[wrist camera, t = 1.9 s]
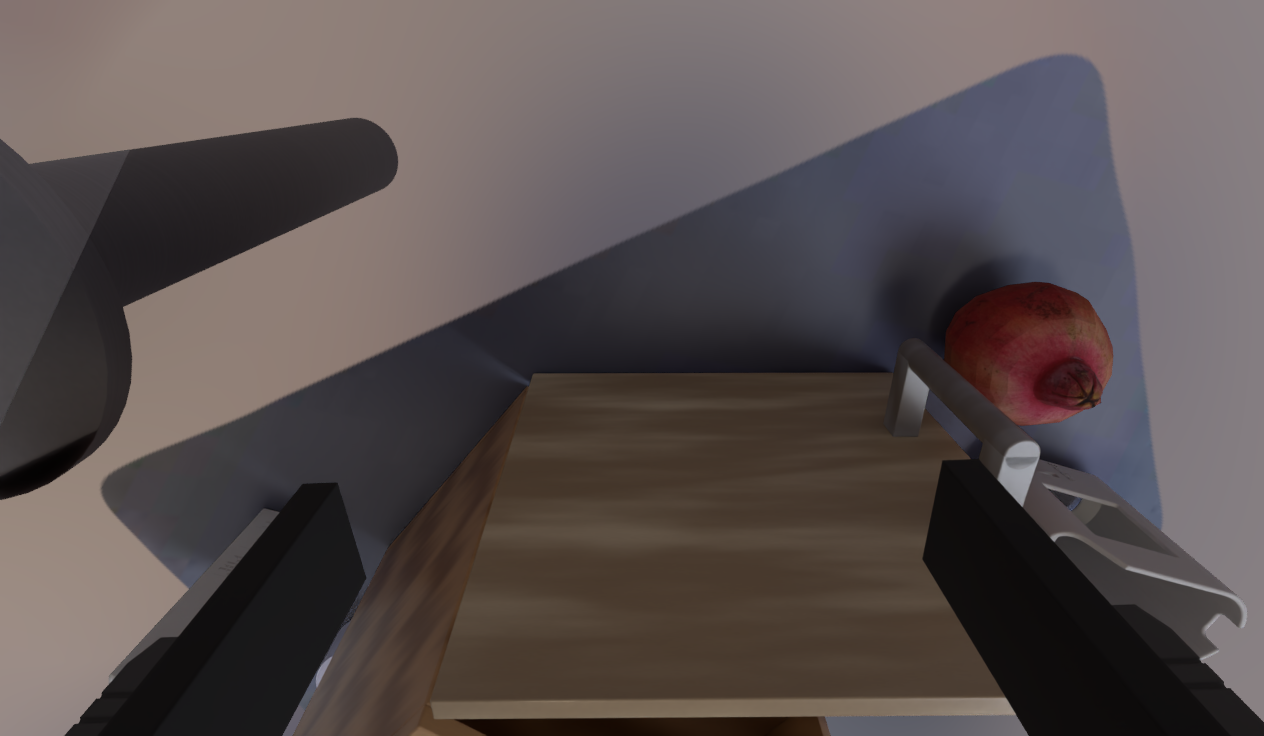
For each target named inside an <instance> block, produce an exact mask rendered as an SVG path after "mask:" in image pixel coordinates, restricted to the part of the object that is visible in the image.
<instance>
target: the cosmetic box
mask: <svg viewBox="0 0 1264 736" xmlns="http://www.w3.org/2000/svg"><path fill="white" fill-rule="evenodd" d="M278 514H279V512H277V511H273V510H269V509H265V508H264V509H262V510H261V512H260V513H259V514H258V515H257V516H256V517H255V518H254V519H253V520H252V522H251V523H250V524H249V525H248V526H247V527H246V528H245V529H244V530H243V531H242V532H241V533H240V535H239V536H238V537H237V538H236V539H235V540H234V541H233V542H232V543H231V544H230V545H229V547H228V548H227V549H226V550H225V551H224V552H223V553H222V554H221V555H220V556H219V557H218V558H217V560H216V561H215V562H214V563H213V564H212V565H211V566H210V567H209V568H208V569H207V570H206V571H205V573H204V574H203V575H202V576H201V577H200V578H199V579H198V580H197V581H196V582H195V583H194V585H193V586H192V587H191V588H190V589H189V590H188V591H187V592H186V593H185V594H184V595H183V597H182V598H181V599H180V600H179V601H178V602H177V603H176V604H175V605H174V606H173V607H172V608H171V609H170V610H169V611H168V613H167V614H166V615H165V616H164V617H163V618H162V619H161V620H160V621H159V622H158V623H157V624H156V625H155V627H154V628H153V629H152V630H151V631H150V632H149V633H148V634H147V635H146V636H145V637H144V639H142V641H141V642H140V643H139V644H138V645H137V646H136V647H135V648H134V649H133V650H132V651H131V653H130V654H129V655H128V656H127V657H126V658H125V659H124V660H123V661H122V662H121V664H119V666H118V667H117V668H116V669H115V670H114V671H113V672H112V673H111V674H110V675H109V684H110V683H111V681H112V680H113V679H114V678H115V677H116V676H117V674H118V673H119V672H120V671H121V670H122V669H123V668H124V666H125V665H126V664H127V663H128V662H129V661H131V660H132V659H133V658H135V657H136V656H137V655H139V654H140V653H141V652H142V651H144V650H145V649H146V648H148V647H149V646H150V645H152V644H153V643H154V642H155V641H157V640H158V639H159V638H161V637H178V636H179V635H180V634H181V633H182V631H183V630H184V629H185V628H186V626H187V625H188V624H189V623H190V622H191V620H192V619H193V618H194V617H195V615H196V614H197V613H198V612H199V611H200V609H201V608H202V607H203V606H204V604H205V603H206V602H207V601H208V599H209V598H210V597H211V596H212V595H213V593H214V592H215V591H216V590H217V588H218V587H219V586H220V585H221V584H222V582H223V581H224V580H225V579H226V577H227V576H228V575H229V574H230V573H231V571H232V570H233V569H234V568H235V566H236V565H237V564H238V563H239V561H240V560H241V559H242V558H243V557H244V555H245V554H246V553H247V552H248V550H249V549H250V548H251V547H252V546H253V544H254V543H255V542H256V541H257V539H258V538H259V537H260V536H261V535H262V533H263V532H264V531H265V530H266V528H267V527H268V526H269V525H270V523H271V522H272V521H273V520H274V519H275V517H276V516H277V515H278Z"/></svg>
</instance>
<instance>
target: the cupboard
mask: <svg viewBox="0 0 1264 736" xmlns="http://www.w3.org/2000/svg"><path fill="white" fill-rule="evenodd" d="M528 388H529V387H528V386H527V387H526V388H525V389H524V390H523V391H522V393H521V394H520V395H519V396H518V397H517V398H516V400H515V401H514V402H513V403H512V404H511V405H510V407H509V408H508V409H507V410H506V411H505V412H504V414H503V415H502V416H501V417H500V418H499V419H498V421H497V422H496V423H495V424H494V425H493V426H492V427H491V429H490V430H489V431H488V432H487V433H486V434H485V436H484V437H483V438H482V439H481V440H480V441H479V443H478V444H477V445H476V446H475V447H474V448H473V450H472V451H471V452H470V453H469V454H468V455H467V457H466V458H465V459H464V460H463V461H462V462H461V464H460V465H459V466H458V467H457V468H456V469H455V471H454V472H453V473H452V474H451V475H450V476H449V478H448V479H447V480H446V481H445V482H444V483H443V484H442V486H441V487H440V488H439V489H438V490H437V491H436V493H435V494H434V495H433V496H432V497H431V498H430V500H429V501H428V502H427V503H426V504H425V505H424V507H423V508H422V509H421V510H420V511H419V512H418V514H417V515H416V516H415V517H414V518H413V519H412V521H411V522H410V523H409V524H408V525H407V526H406V528H405V529H404V530H403V531H402V532H401V533H400V535H399V536H398V537H397V538H396V539H395V540H394V541H393V543H392V544H391V545H390V546H389V547H388V549H387V551H386V552H385V555H384V557H383V558H382V560H381V562H380V564H379V566H378V568H377V570H376V572H375V574H374V576H373V578H372V580H371V582H370V584H369V586H368V588H367V590H366V592H365V594H364V596H363V598H362V600H361V602H360V604H359V606H358V608H357V610H356V612H355V614H354V616H353V618H352V620H351V622H350V624H349V625H348V627H347V629H346V631H345V633H344V635H343V637H342V639H341V641H340V643H339V645H338V647H337V649H336V651H335V653H334V655H333V657H332V659H331V661H330V663H329V665H328V667H327V669H326V671H325V673H324V675H323V677H322V679H321V681H320V683H319V685H318V687H317V689H316V690H315V692H314V694H313V696H312V698H311V700H310V702H309V704H308V706H307V708H306V710H305V712H304V714H303V716H302V718H301V720H300V722H299V724H298V726H297V728H296V730H295V732H294V734H293V736H831V735H830V732H829V729H828V726H827V722H826V719H825V716H811V717H677V718H543V719H434V718H433V714H432V709H431V704H430V699H431V696H432V693H433V689H434V686H435V683H436V680H437V677H438V674H439V670H440V667H441V664H442V661H443V658H444V655H445V651H446V648H447V645H448V642H449V639H450V636H451V632H452V629H453V626H454V623H455V620H456V616H457V613H458V610H459V607H460V604H461V601H462V597H463V594H464V591H465V588H466V585H467V582H468V578H469V575H470V572H471V569H472V566H473V563H474V559H475V556H476V553H477V550H478V547H479V544H480V540H481V537H482V534H483V531H484V528H485V524H486V521H487V518H488V515H489V512H490V509H491V505H492V502H493V499H494V496H495V493H496V490H497V486H498V483H499V480H500V477H501V474H502V471H503V467H504V464H505V461H506V458H507V455H508V452H509V448H510V445H511V442H512V439H513V436H514V433H515V429H516V426H517V423H518V420H519V417H520V413H521V410H522V407H523V404H524V401H525V398H526V394H527V391H528Z"/></svg>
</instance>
